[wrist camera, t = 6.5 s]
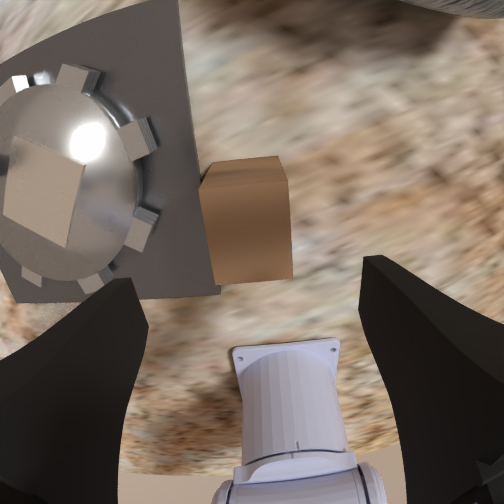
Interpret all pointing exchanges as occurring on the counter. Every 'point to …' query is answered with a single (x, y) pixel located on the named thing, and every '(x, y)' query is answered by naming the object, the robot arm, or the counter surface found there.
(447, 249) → the counter surface
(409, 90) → the counter surface
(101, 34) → the plate
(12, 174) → the sprocket
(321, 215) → the counter surface
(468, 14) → the grey oval stone
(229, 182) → the link block
